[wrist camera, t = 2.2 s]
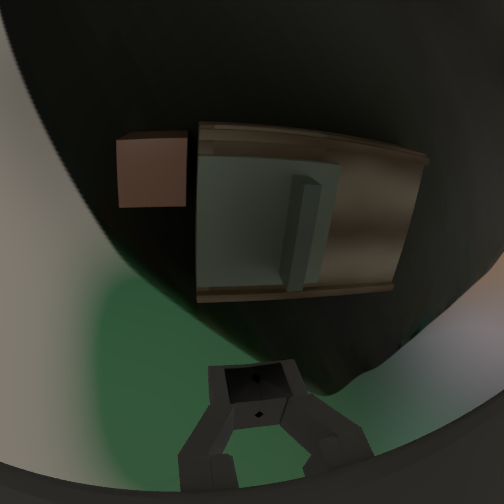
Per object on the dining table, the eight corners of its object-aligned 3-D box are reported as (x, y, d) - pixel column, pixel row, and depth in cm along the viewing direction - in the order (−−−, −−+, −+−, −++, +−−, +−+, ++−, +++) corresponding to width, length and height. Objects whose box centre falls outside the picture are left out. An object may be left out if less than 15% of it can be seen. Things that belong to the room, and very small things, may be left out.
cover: (198, 154, 19) (199, 163, 16) (336, 162, 21) (357, 173, 18) (196, 281, 24) (198, 306, 21) (314, 277, 26) (328, 299, 23)
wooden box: (198, 121, 21) (199, 125, 18) (403, 146, 25) (430, 155, 22) (195, 277, 28) (197, 305, 24) (372, 271, 32) (391, 292, 28)
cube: (131, 132, 21) (116, 140, 16) (188, 130, 22) (187, 138, 17) (132, 186, 23) (119, 207, 18) (186, 185, 24) (185, 206, 19)
